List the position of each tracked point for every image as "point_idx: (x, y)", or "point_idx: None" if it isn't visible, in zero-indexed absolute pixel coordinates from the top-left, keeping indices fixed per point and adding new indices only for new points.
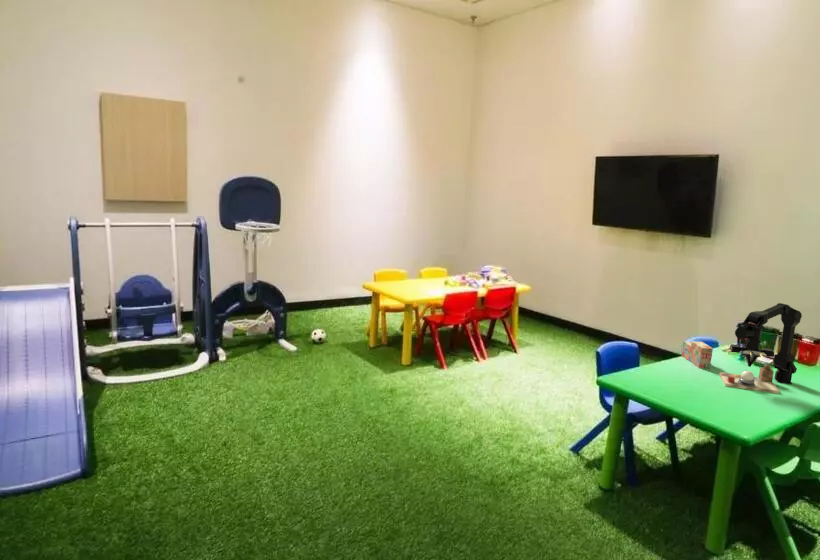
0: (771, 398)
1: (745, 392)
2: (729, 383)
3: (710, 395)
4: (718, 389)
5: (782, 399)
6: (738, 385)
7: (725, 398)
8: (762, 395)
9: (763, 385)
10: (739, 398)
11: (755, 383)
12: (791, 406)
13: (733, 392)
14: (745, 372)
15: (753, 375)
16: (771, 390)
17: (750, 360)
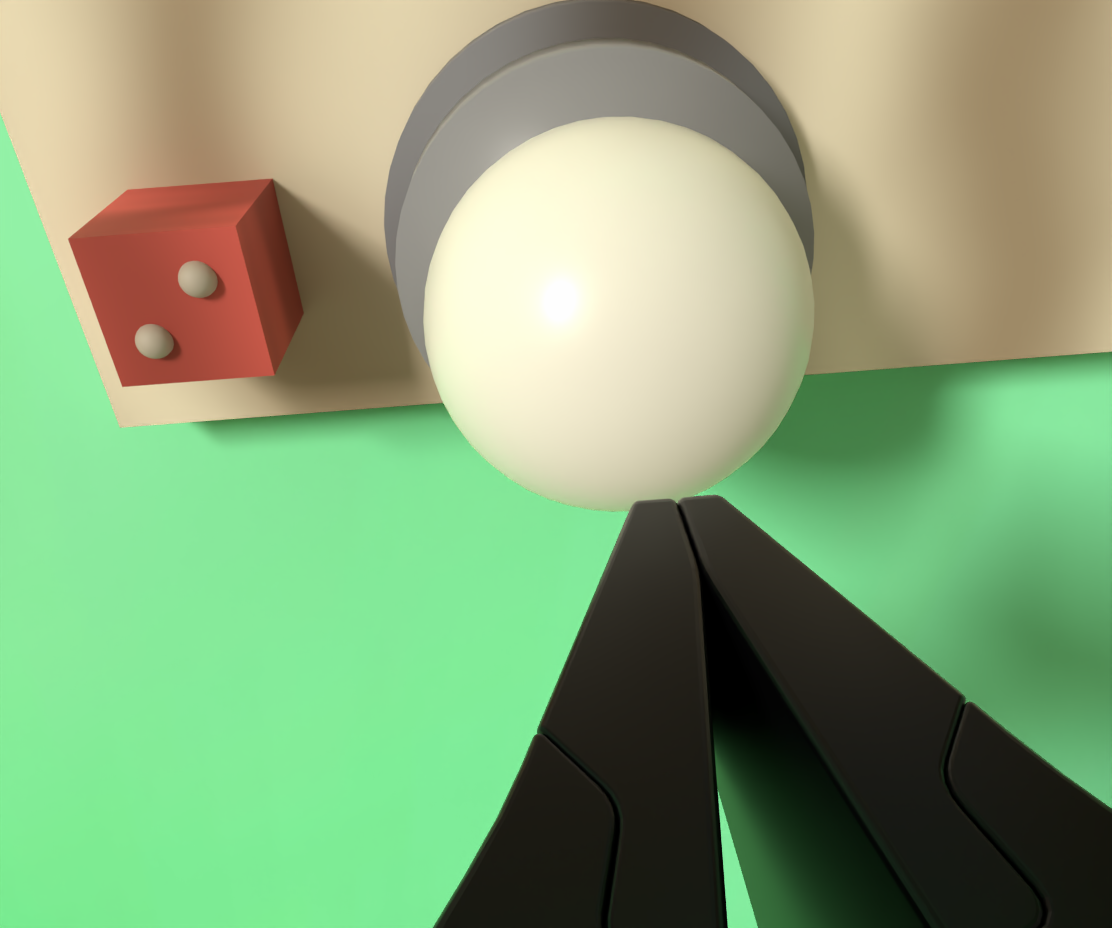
0: (922, 620)
1: (530, 554)
2: (203, 394)
3: (25, 886)
4: (68, 631)
5: (1107, 582)
6: (404, 398)
7: (227, 890)
8: (811, 557)
9: (1050, 98)
10: (410, 819)
11: (875, 23)
12: (1089, 776)
13: (323, 647)
14: (531, 470)
15: (789, 407)
16: (1097, 345)
17: (778, 796)
